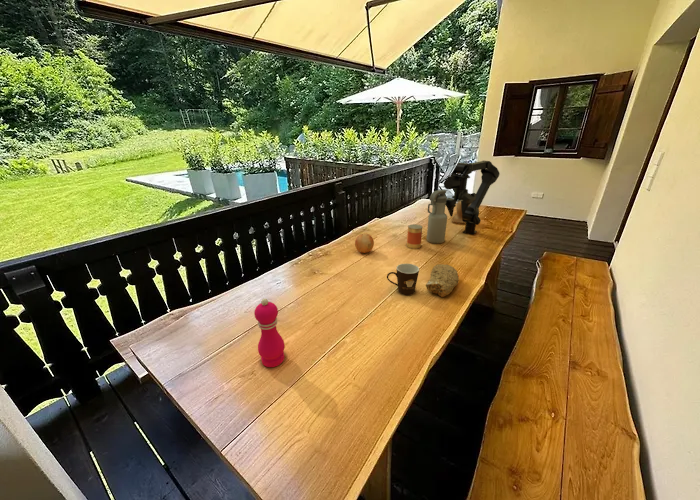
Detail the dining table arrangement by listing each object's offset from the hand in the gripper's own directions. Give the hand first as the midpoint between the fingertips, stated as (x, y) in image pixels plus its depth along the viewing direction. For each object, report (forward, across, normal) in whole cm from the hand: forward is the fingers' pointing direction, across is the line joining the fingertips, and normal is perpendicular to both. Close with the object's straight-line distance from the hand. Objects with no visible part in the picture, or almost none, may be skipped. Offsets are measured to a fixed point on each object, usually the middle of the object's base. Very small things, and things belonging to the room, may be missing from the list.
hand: (457, 215), depth 168 cm
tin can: (+13, -29, +1) cm, 32 cm away
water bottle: (+13, -14, +1) cm, 19 cm away
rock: (+13, -46, -38) cm, 61 cm away
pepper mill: (+12, -118, -45) cm, 127 cm away
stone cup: (+13, +26, +18) cm, 34 cm away
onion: (+13, -56, +8) cm, 58 cm away
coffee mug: (+13, -63, -33) cm, 72 cm away
